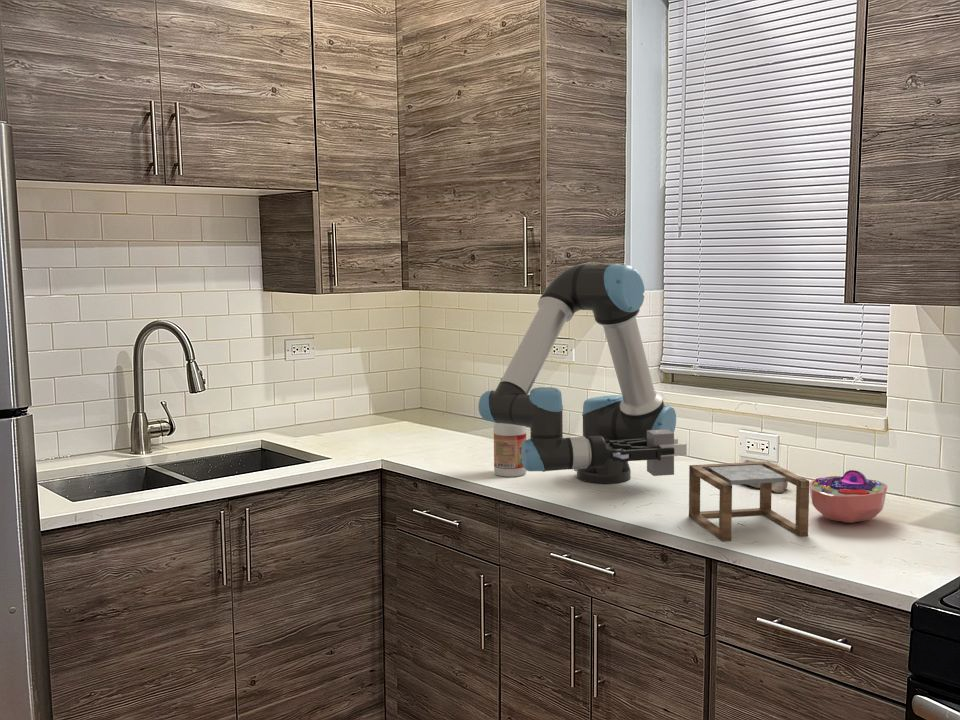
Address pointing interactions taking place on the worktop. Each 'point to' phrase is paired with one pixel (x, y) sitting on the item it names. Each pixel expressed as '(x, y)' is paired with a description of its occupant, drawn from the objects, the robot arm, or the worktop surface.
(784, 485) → the concrete fragment
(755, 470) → the trapdoor flap
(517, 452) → the fruit juice
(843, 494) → the cell model
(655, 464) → the basalt block
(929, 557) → the worktop surface
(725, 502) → the stand
